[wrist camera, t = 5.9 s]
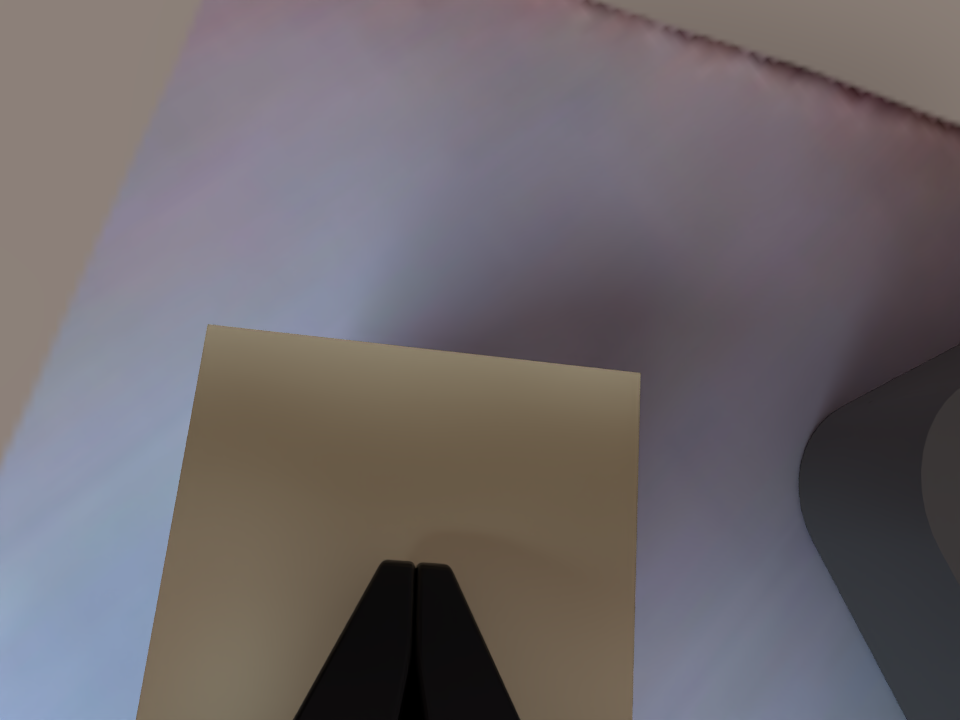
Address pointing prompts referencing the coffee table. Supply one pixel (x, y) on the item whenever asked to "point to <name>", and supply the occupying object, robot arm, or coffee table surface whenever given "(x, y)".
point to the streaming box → (896, 527)
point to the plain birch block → (396, 519)
